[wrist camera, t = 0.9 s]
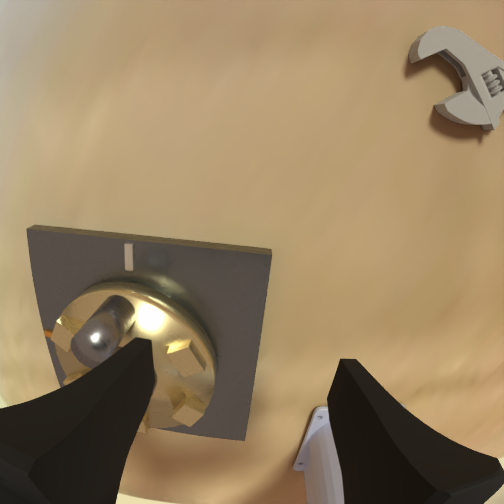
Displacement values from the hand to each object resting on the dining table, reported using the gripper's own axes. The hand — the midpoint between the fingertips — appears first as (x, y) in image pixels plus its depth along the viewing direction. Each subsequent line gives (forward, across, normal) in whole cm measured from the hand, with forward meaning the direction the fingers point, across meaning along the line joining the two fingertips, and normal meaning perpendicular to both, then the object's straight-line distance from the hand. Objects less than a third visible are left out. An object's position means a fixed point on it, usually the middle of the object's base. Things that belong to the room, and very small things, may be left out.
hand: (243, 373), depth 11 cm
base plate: (+8, +7, +6) cm, 12 cm away
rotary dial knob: (+7, +7, +6) cm, 12 cm away
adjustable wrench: (+9, -20, -16) cm, 27 cm away
